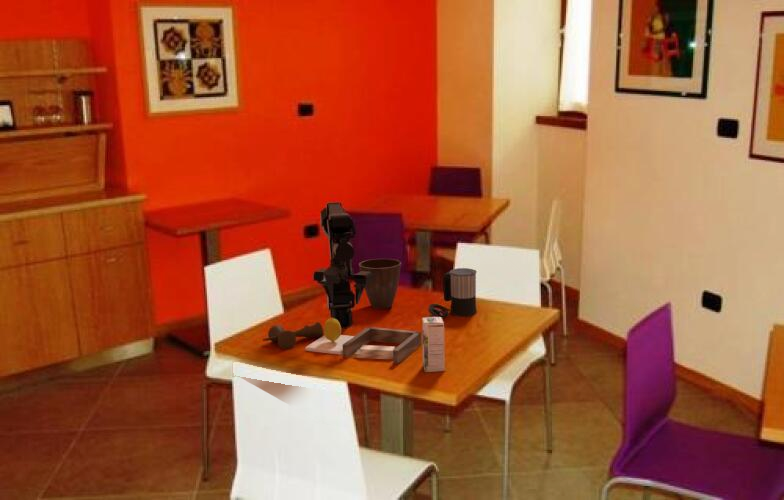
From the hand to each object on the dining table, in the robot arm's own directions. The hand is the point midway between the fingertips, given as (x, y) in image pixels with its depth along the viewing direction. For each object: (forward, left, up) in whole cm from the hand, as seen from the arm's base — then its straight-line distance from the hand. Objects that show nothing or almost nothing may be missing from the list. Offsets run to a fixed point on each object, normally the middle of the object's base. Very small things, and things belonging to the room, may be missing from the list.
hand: (344, 302), depth 256 cm
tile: (-1, -7, -12) cm, 14 cm away
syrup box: (+36, -16, -12) cm, 41 cm away
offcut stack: (+16, -12, -12) cm, 23 cm away
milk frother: (+24, +34, -12) cm, 44 cm away
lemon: (-1, -7, -11) cm, 13 cm away
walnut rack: (+16, -7, -12) cm, 21 cm away
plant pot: (-4, +36, -12) cm, 38 cm away
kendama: (-15, -8, -12) cm, 21 cm away
